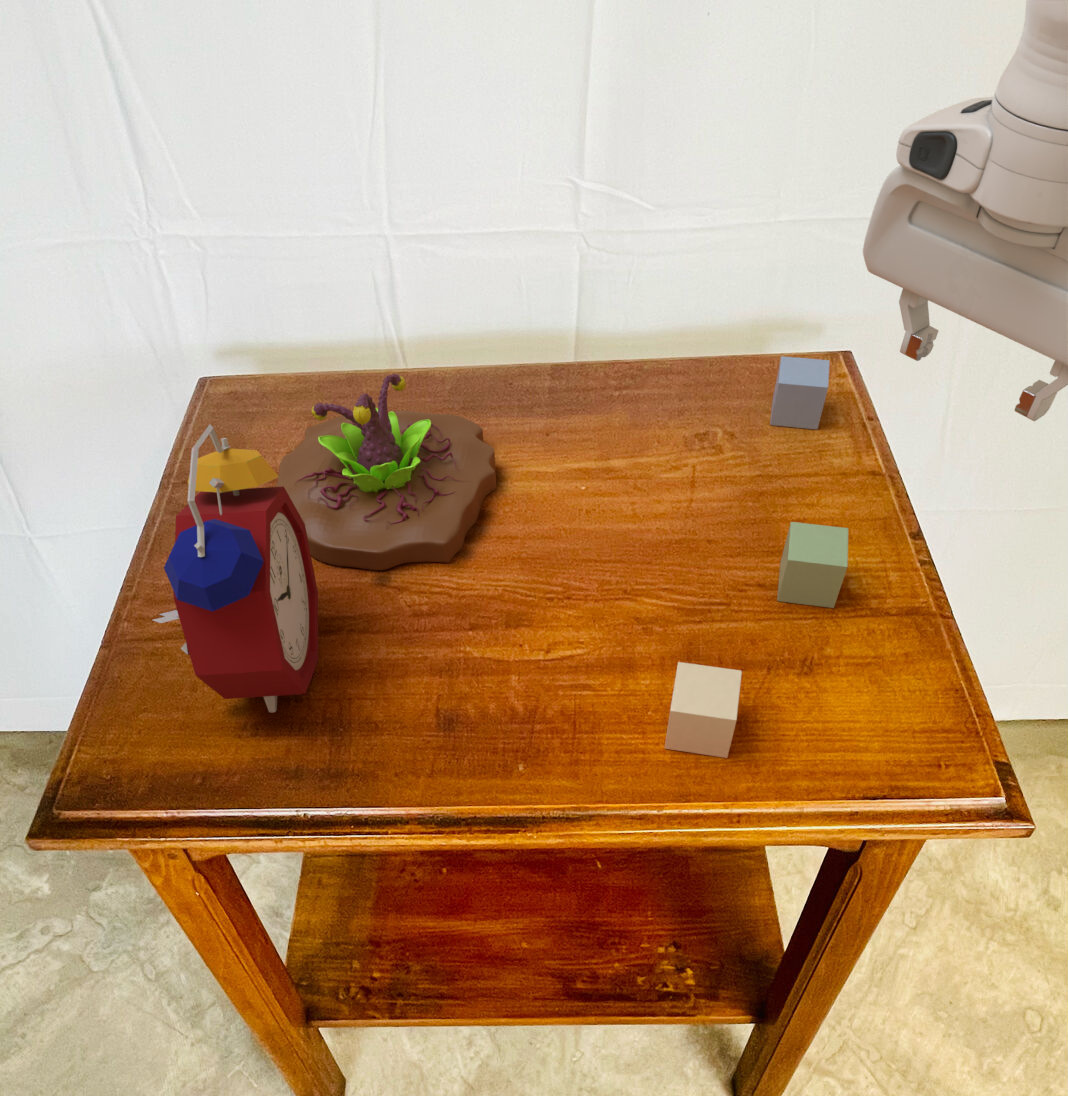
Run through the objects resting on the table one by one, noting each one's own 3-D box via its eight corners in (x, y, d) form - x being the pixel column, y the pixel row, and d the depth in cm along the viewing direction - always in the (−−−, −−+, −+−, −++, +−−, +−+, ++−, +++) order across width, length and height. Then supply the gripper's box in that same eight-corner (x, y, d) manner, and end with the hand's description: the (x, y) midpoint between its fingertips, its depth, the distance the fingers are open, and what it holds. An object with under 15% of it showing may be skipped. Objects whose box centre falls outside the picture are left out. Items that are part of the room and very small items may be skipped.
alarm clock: (312, 735, 67) (228, 523, 50) (195, 742, 67) (74, 532, 50) (328, 593, 75) (261, 373, 59) (225, 599, 75) (129, 381, 59)
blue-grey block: (772, 398, 89) (781, 355, 85) (819, 402, 88) (829, 360, 85) (769, 425, 87) (778, 382, 83) (817, 430, 86) (828, 387, 82)
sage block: (780, 563, 75) (790, 521, 72) (835, 570, 75) (848, 527, 71) (776, 601, 73) (787, 559, 69) (833, 608, 72) (847, 566, 69)
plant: (249, 565, 78) (206, 455, 68) (308, 428, 89) (277, 318, 80) (478, 577, 76) (465, 466, 67) (508, 436, 87) (500, 324, 78)
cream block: (672, 700, 67) (678, 661, 64) (732, 709, 67) (742, 670, 63) (664, 748, 65) (670, 710, 61) (727, 758, 64) (736, 720, 60)
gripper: (1270, 204, 47) (1136, 433, 58) (945, 95, 57) (883, 309, 68) (1205, 244, 45) (1079, 474, 56) (879, 123, 55) (827, 339, 66)
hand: (970, 383), depth 62 cm, fingers open, 8 cm apart
